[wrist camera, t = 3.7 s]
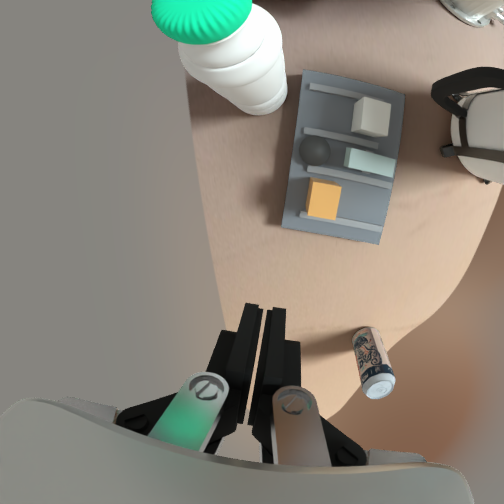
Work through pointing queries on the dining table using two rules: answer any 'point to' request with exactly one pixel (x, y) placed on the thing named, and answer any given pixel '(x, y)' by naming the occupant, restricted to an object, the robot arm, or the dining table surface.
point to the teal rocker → (369, 162)
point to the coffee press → (475, 120)
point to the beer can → (373, 363)
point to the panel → (340, 157)
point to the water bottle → (228, 49)
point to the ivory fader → (371, 117)
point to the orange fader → (323, 198)
